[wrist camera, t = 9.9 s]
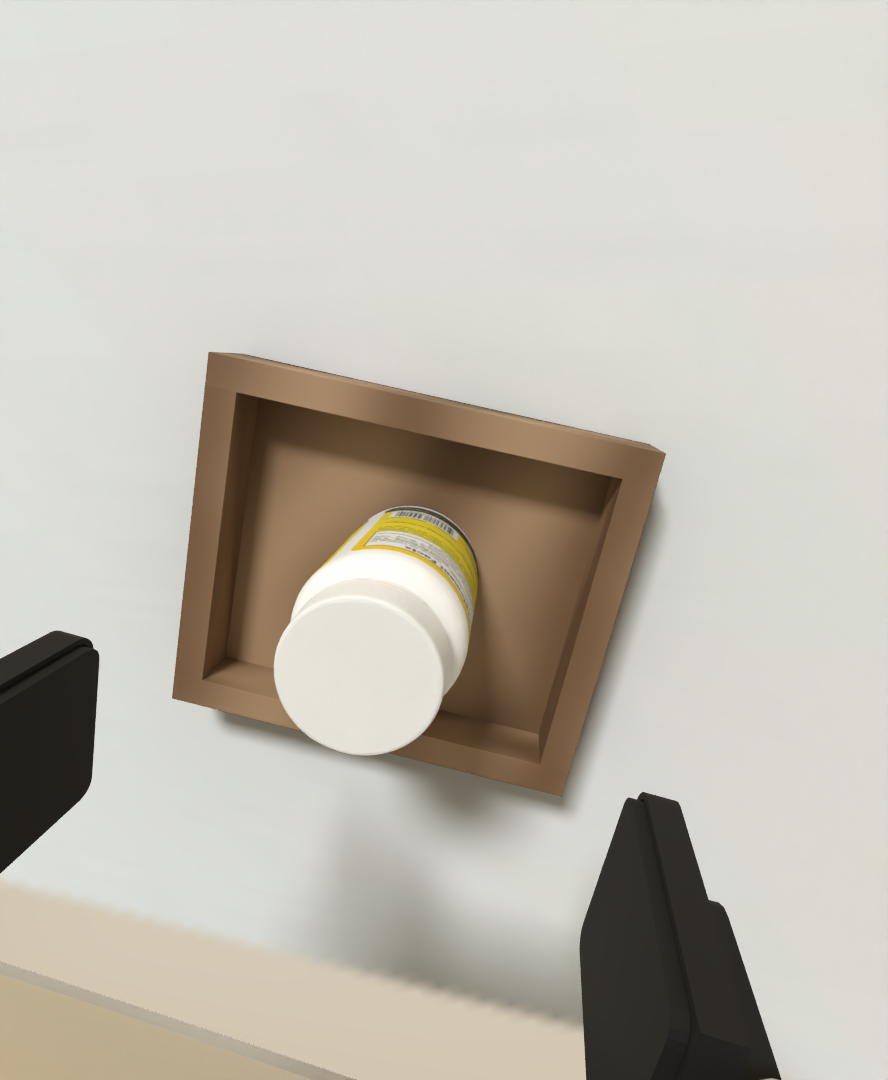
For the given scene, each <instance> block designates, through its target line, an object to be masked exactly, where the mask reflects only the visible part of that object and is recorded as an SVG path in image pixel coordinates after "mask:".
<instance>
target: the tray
mask: <svg viewBox="0 0 888 1080" xmlns="http://www.w3.org/2000/svg"><path fill="white" fill-rule="evenodd" d="M665 455H666V453H664V452H662V451H660V450H658V449H657V448H655V447H653V446H651V445H650V444H646V443H641V442H637V441H632V440H628V439H623V438H619V437H614V436H610V435H605V434H601V433H596V432H592V431H587V430H583V429H578V428H574V427H569V426H565V425H560V424H556V423H551V422H547V421H542V420H538V419H533V418H529V417H524V416H520V415H515V414H511V413H506V412H502V411H497V410H493V409H488V408H484V407H479V406H475V405H470V404H466V403H461V402H457V401H452V400H448V399H443V398H439V397H434V396H430V395H425V394H421V393H416V392H412V391H407V390H403V389H398V388H394V387H389V386H385V385H380V384H376V383H371V382H367V381H362V380H358V379H353V378H349V377H344V376H340V375H335V374H331V373H326V372H322V371H317V370H313V369H308V368H304V367H299V366H295V365H290V364H286V363H281V362H277V361H272V360H268V359H263V358H259V357H254V356H250V355H245V354H235V353H218V352H209V354H208V364H207V373H206V383H205V392H204V402H203V411H202V421H201V430H200V440H199V449H198V458H197V468H196V477H195V487H194V496H193V506H192V515H191V525H190V534H189V544H188V553H187V563H186V572H185V582H184V591H183V600H182V610H181V619H180V629H179V638H178V648H177V657H176V667H175V676H174V686H173V695H172V698H173V699H177V700H181V701H185V702H189V703H193V704H197V705H201V706H205V707H209V708H213V709H217V710H221V711H225V712H229V713H233V714H237V715H241V716H245V717H249V718H252V719H256V720H260V721H264V722H268V723H272V724H276V725H280V726H284V727H288V728H292V729H296V730H300V731H302V730H301V729H300V728H299V727H297V725H296V724H295V723H294V722H293V721H292V719H291V718H290V717H289V715H288V714H287V712H286V710H285V709H284V707H283V705H282V703H281V701H280V698H279V695H278V692H277V689H276V685H275V680H274V659H275V653H276V649H277V646H278V643H279V641H280V638H281V636H282V634H283V632H284V631H285V629H286V628H287V626H288V625H289V623H290V621H291V615H292V611H293V608H294V605H295V602H296V599H297V597H298V595H299V593H300V591H301V589H302V587H303V586H304V585H305V583H306V582H307V581H308V580H309V578H310V577H311V576H312V575H313V574H314V573H315V572H316V571H317V570H318V569H319V568H320V567H321V566H322V565H323V564H324V563H325V562H326V561H327V560H328V559H329V558H330V557H331V556H332V555H333V554H334V553H335V552H336V551H337V550H338V549H339V548H340V547H341V546H342V545H343V544H344V543H345V542H346V540H347V539H348V538H349V537H350V536H351V535H352V534H353V533H354V532H355V531H356V530H357V529H358V528H359V527H360V526H361V525H362V524H363V523H364V522H366V521H367V520H368V519H370V518H371V517H373V516H374V515H376V514H378V513H380V512H382V511H384V510H387V509H390V508H394V507H400V506H418V507H424V508H428V509H431V510H434V511H436V512H439V513H441V514H443V515H444V516H446V517H447V518H449V519H450V520H452V521H453V522H454V523H455V524H456V525H457V526H458V527H459V528H460V529H461V530H462V531H463V532H464V533H465V535H466V536H467V537H468V539H469V541H470V542H471V544H472V546H473V548H474V551H475V554H476V557H477V562H478V569H479V578H478V588H477V595H476V602H475V608H474V614H473V620H472V626H471V633H470V639H469V645H468V651H467V656H466V659H465V662H464V665H463V667H462V670H461V672H460V674H459V676H458V678H457V679H456V681H455V683H454V684H453V685H452V687H451V688H450V689H449V691H448V692H447V693H446V694H445V695H444V696H443V699H442V702H441V705H440V708H439V710H438V712H437V714H436V716H435V718H434V719H433V721H432V723H431V724H430V725H429V727H428V728H427V729H426V730H425V731H424V732H423V733H422V734H421V735H420V736H419V737H418V738H416V739H415V740H414V741H412V742H411V743H409V744H408V745H406V746H404V747H402V748H399V749H397V750H394V751H391V752H388V753H391V754H395V755H399V756H403V757H407V758H411V759H415V760H419V761H423V762H427V763H431V764H435V765H439V766H443V767H447V768H451V769H455V770H459V771H463V772H467V773H471V774H475V775H479V776H483V777H486V778H490V779H494V780H498V781H502V782H506V783H510V784H514V785H518V786H522V787H526V788H530V789H534V790H538V791H542V792H546V793H550V794H554V795H558V796H562V793H563V790H564V786H565V783H566V780H567V777H568V773H569V770H570V767H571V763H572V760H573V757H574V754H575V750H576V747H577V744H578V741H579V737H580V734H581V731H582V727H583V724H584V721H585V718H586V714H587V711H588V708H589V704H590V701H591V698H592V695H593V691H594V688H595V685H596V682H597V678H598V675H599V672H600V668H601V665H602V662H603V659H604V655H605V652H606V649H607V645H608V642H609V639H610V636H611V632H612V629H613V626H614V623H615V619H616V616H617V613H618V609H619V606H620V603H621V600H622V596H623V593H624V590H625V586H626V583H627V580H628V577H629V573H630V570H631V567H632V564H633V560H634V557H635V554H636V550H637V547H638V544H639V541H640V537H641V534H642V531H643V527H644V524H645V521H646V518H647V514H648V511H649V508H650V505H651V501H652V498H653V495H654V491H655V488H656V485H657V482H658V478H659V475H660V472H661V468H662V465H663V462H664V459H665Z"/></svg>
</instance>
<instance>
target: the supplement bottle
mask: <svg viewBox="0 0 888 1080" xmlns="http://www.w3.org/2000/svg"><path fill="white" fill-rule="evenodd" d="M478 578H479V569H478V562H477V557H476V554H475V551H474V548H473V546H472V544H471V542H470V541H469V539H468V537H467V536H466V535H465V533H464V532H463V531H462V530H461V529H460V528H459V527H458V526H457V525H456V524H455V523H454V522H453V521H452V520H450V519H449V518H447V517H446V516H444V515H443V514H441V513H439V512H436V511H434V510H431V509H428V508H424V507H418V506H400V507H394V508H390V509H387V510H384V511H382V512H380V513H378V514H376V515H374V516H373V517H371V518H370V519H368V520H367V521H366V522H364V523H363V524H362V525H361V526H360V527H359V528H358V529H357V530H356V531H355V532H354V533H353V534H352V535H351V536H350V537H349V538H348V539H347V540H346V542H345V543H344V544H343V545H342V546H341V547H340V548H339V549H338V550H337V551H336V552H335V553H334V554H333V555H332V556H331V557H330V558H329V559H328V560H327V561H326V562H325V563H324V564H323V565H322V566H321V567H320V568H319V569H318V570H317V571H316V572H315V573H314V574H313V575H312V576H311V577H310V578H309V580H308V581H307V582H306V583H305V585H304V586H303V587H302V589H301V591H300V593H299V595H298V597H297V599H296V602H295V605H294V608H293V611H292V615H291V621H290V623H289V625H288V626H287V628H286V629H285V631H284V632H283V634H282V636H281V638H280V641H279V643H278V646H277V649H276V653H275V659H274V680H275V685H276V689H277V692H278V695H279V698H280V701H281V703H282V705H283V707H284V709H285V710H286V712H287V714H288V715H289V717H290V718H291V719H292V721H293V722H294V723H295V724H296V725H297V727H299V728H300V729H301V730H302V731H303V732H304V733H305V734H306V735H308V736H309V737H310V738H312V739H313V740H315V741H316V742H318V743H320V744H321V745H323V746H326V747H328V748H331V749H333V750H336V751H339V752H342V753H346V754H352V755H362V756H368V755H378V754H384V753H388V752H391V751H394V750H397V749H399V748H402V747H404V746H406V745H408V744H409V743H411V742H412V741H414V740H415V739H416V738H418V737H419V736H420V735H421V734H422V733H423V732H424V731H425V730H426V729H427V728H428V727H429V725H430V724H431V723H432V721H433V719H434V718H435V716H436V714H437V712H438V710H439V708H440V705H441V702H442V699H443V696H444V695H445V694H446V693H447V692H448V691H449V689H450V688H451V687H452V685H453V684H454V683H455V681H456V679H457V678H458V676H459V674H460V672H461V670H462V667H463V665H464V662H465V659H466V656H467V651H468V645H469V639H470V633H471V626H472V620H473V614H474V608H475V602H476V595H477V588H478Z"/></svg>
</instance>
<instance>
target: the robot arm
mask: <svg viewBox="0 0 888 1080" xmlns="http://www.w3.org/2000/svg"><path fill="white" fill-rule="evenodd" d="M98 672H99V654H98V651H96V650H95V649H93V645H92V642H91V641H90V640H89V639H87V638H84V637H80V636H76V635H73V634H69V633H65V632H62V631H53V632H50V633H48V634H46V635H45V636H43V637H41V638H39V639H37V640H35V641H33V642H31V643H29V644H28V645H26V646H24V647H22V648H20V649H18V650H16V651H14V652H12V653H10V654H9V655H7V656H5V657H3V658H1V659H0V873H1V872H2V871H3V870H5V869H6V868H7V867H8V866H9V865H10V864H11V863H12V862H13V861H14V860H15V859H17V858H18V857H19V856H20V855H21V854H22V853H23V852H24V851H25V850H26V849H27V848H28V847H30V846H31V845H32V844H33V843H34V842H35V841H36V840H37V839H38V838H39V837H40V836H42V835H43V834H44V833H45V832H46V831H47V830H48V829H49V828H50V827H51V826H52V825H54V824H55V823H56V822H57V821H58V820H59V819H60V818H61V817H62V816H63V815H64V814H66V813H67V812H68V811H69V810H70V809H71V808H72V807H73V806H74V805H75V804H76V803H77V802H79V801H80V800H81V798H82V797H83V796H84V795H85V793H86V792H87V790H88V788H89V786H90V783H91V779H92V767H93V751H94V735H95V719H96V704H97V688H98ZM580 967H581V986H582V1005H583V1024H584V1043H585V1060H586V1080H781V1077H780V1074H779V1071H778V1068H777V1065H776V1062H775V1059H774V1056H773V1052H772V1049H771V1046H770V1043H769V1040H768V1037H767V1034H766V1031H765V1028H764V1025H763V1022H762V1019H761V1016H760V1013H759V1010H758V1007H757V1004H756V1000H755V997H754V994H753V991H752V988H751V985H750V982H749V979H748V976H747V973H746V970H745V967H744V964H743V961H742V958H741V955H740V952H739V948H738V945H737V942H736V939H735V936H734V933H733V930H732V927H731V924H730V921H729V918H728V915H727V913H726V911H725V909H724V907H723V906H722V905H721V904H720V903H718V902H714V901H711V900H708V897H707V894H706V890H705V887H704V884H703V880H702V877H701V874H700V870H699V867H698V864H697V860H696V857H695V854H694V850H693V847H692V844H691V840H690V837H689V834H688V830H687V827H686V824H685V820H684V817H683V814H682V810H681V807H680V805H679V803H678V802H677V801H674V800H670V799H667V798H663V797H659V796H656V795H652V794H649V793H645V792H642V793H641V794H640V795H639V797H638V799H637V800H636V799H632V798H627V800H626V801H625V803H624V806H623V809H622V812H621V815H620V818H619V820H618V823H617V826H616V829H615V832H614V835H613V838H612V841H611V844H610V847H609V850H608V853H607V856H606V859H605V861H604V864H603V867H602V870H601V873H600V876H599V879H598V882H597V885H596V888H595V891H594V894H593V897H592V899H591V902H590V905H589V908H588V911H587V914H586V917H585V920H584V923H583V926H582V931H581V937H580ZM0 1080H355V1079H352V1078H349V1077H346V1076H343V1075H340V1074H337V1073H334V1072H332V1071H329V1070H326V1069H322V1068H320V1067H317V1066H314V1065H311V1064H308V1063H305V1062H302V1061H299V1060H296V1059H293V1058H290V1057H287V1056H284V1055H281V1054H278V1053H275V1052H272V1051H270V1050H267V1049H264V1048H261V1047H258V1046H255V1045H252V1044H249V1043H246V1042H243V1041H240V1040H237V1039H234V1038H231V1037H228V1036H225V1035H222V1034H219V1033H216V1032H213V1031H210V1030H207V1029H203V1028H201V1027H197V1026H195V1025H192V1024H188V1023H186V1022H183V1021H180V1020H177V1019H174V1018H171V1017H168V1016H165V1015H161V1014H158V1013H156V1012H153V1011H150V1010H147V1009H144V1008H141V1007H138V1006H135V1005H132V1004H128V1003H126V1002H123V1001H120V1000H116V999H113V998H110V997H107V996H104V995H101V994H98V993H95V992H92V991H89V990H86V989H83V988H80V987H77V986H74V985H71V984H68V983H65V982H62V981H59V980H56V979H53V978H50V977H47V976H44V975H41V974H38V973H35V972H32V971H28V970H25V969H22V968H19V967H16V966H13V965H10V964H7V963H4V962H1V961H0Z"/></svg>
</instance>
